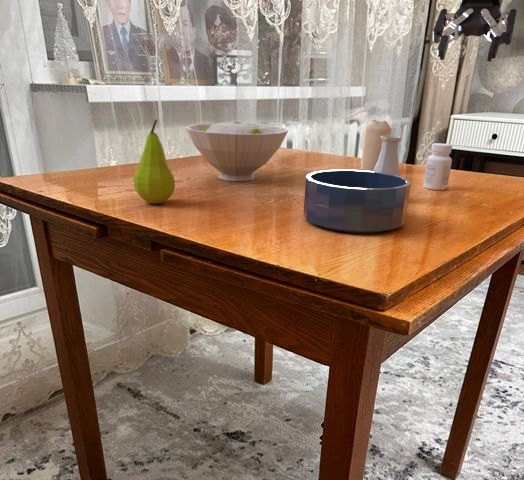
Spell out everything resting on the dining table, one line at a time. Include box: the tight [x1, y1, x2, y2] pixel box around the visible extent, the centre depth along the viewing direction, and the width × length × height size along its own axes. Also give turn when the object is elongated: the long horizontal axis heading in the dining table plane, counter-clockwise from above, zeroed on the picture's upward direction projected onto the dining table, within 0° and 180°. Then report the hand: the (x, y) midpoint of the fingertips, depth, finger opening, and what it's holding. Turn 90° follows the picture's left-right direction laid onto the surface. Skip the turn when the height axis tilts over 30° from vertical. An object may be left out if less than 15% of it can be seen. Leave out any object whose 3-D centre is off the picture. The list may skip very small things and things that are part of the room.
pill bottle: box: [422, 142, 453, 191], centre depth 100 cm, size 4×4×8 cm
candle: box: [360, 119, 392, 172], centre depth 115 cm, size 6×6×10 cm
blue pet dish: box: [302, 169, 412, 234], centre depth 76 cm, size 14×14×6 cm
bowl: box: [185, 121, 289, 182], centre depth 103 cm, size 19×19×10 cm
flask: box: [373, 134, 402, 177], centre depth 89 cm, size 7×7×10 cm
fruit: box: [132, 119, 176, 205], centre depth 81 cm, size 6×6×12 cm
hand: (465, 57), depth 101 cm, fingers open, 8 cm apart
